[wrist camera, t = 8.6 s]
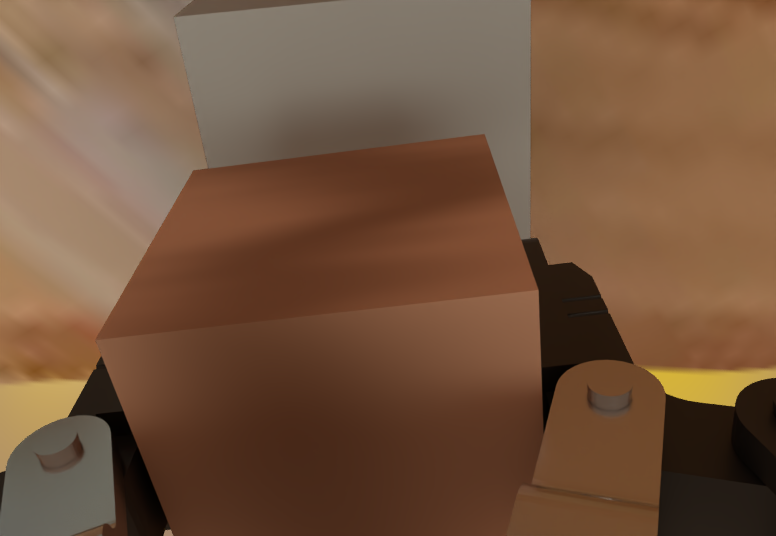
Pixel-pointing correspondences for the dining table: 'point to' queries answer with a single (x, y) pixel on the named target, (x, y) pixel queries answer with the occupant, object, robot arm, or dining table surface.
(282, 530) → the terracotta cube
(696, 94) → the dining table surface
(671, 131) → the dining table surface
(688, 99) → the dining table surface
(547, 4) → the dining table surface
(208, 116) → the tower top
